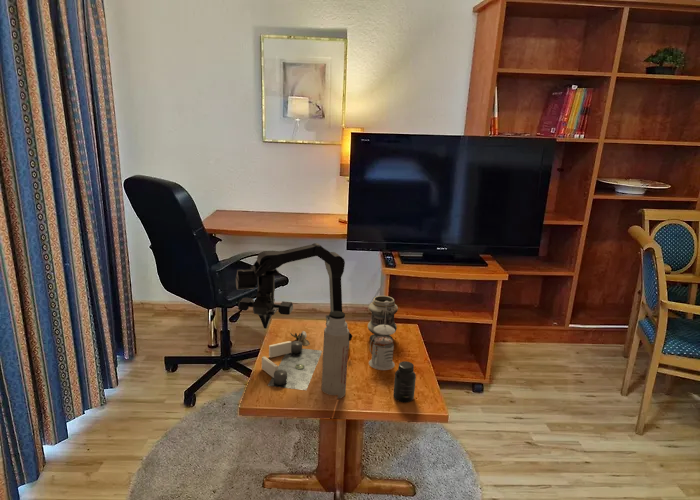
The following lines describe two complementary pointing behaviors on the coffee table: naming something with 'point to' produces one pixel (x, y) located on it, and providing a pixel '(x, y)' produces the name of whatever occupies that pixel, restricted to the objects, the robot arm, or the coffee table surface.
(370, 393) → the coffee table surface
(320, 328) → the coffee table surface
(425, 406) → the coffee table surface
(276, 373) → the knob
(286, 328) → the coffee table surface
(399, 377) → the supplement bottle
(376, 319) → the apothecary jar
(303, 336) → the eagle figurine
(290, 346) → the knob
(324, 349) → the thermos bottle
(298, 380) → the plate
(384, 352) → the french press
